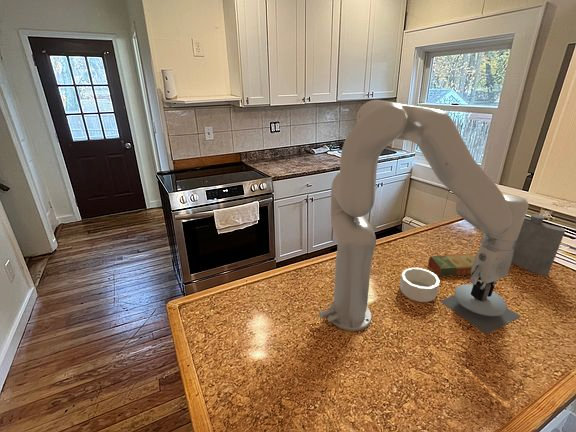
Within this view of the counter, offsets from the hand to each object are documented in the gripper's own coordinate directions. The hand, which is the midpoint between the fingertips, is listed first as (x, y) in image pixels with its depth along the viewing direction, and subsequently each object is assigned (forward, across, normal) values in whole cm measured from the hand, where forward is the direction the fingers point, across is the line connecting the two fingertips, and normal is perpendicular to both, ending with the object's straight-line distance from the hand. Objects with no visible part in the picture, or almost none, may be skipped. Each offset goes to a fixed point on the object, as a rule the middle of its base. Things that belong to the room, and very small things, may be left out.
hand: (480, 295), depth 88 cm
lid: (+2, 0, 0) cm, 2 cm away
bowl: (+6, -9, +14) cm, 18 cm away
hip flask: (+5, +37, +9) cm, 38 cm away
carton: (+6, +13, +18) cm, 23 cm away
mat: (+6, +1, 0) cm, 6 cm away
